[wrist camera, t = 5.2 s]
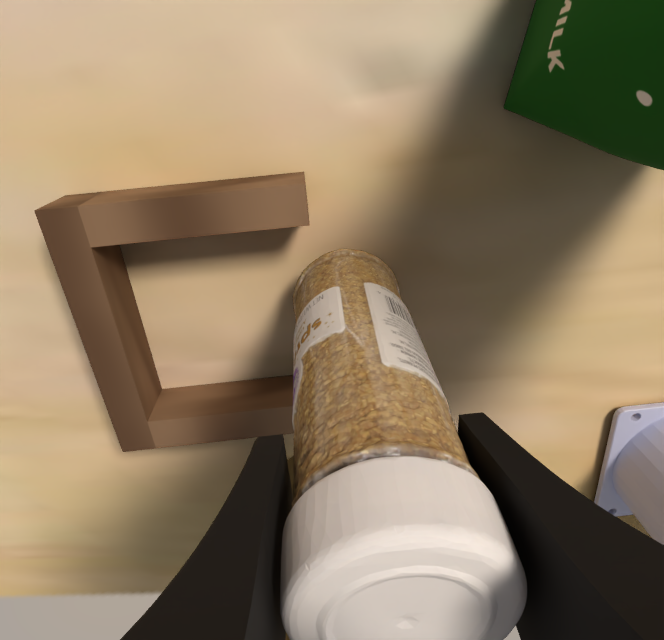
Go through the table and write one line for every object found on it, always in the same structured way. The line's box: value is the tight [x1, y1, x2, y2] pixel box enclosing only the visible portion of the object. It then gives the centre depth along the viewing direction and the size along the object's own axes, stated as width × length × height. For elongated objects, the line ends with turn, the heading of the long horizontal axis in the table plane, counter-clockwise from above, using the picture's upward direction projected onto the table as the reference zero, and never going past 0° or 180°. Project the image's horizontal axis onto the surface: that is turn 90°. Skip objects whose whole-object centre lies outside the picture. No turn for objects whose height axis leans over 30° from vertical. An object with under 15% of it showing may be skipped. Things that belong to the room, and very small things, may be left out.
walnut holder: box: [35, 172, 309, 452], centre depth 20 cm, size 10×11×2 cm
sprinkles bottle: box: [280, 249, 527, 640], centre depth 14 cm, size 5×5×14 cm
